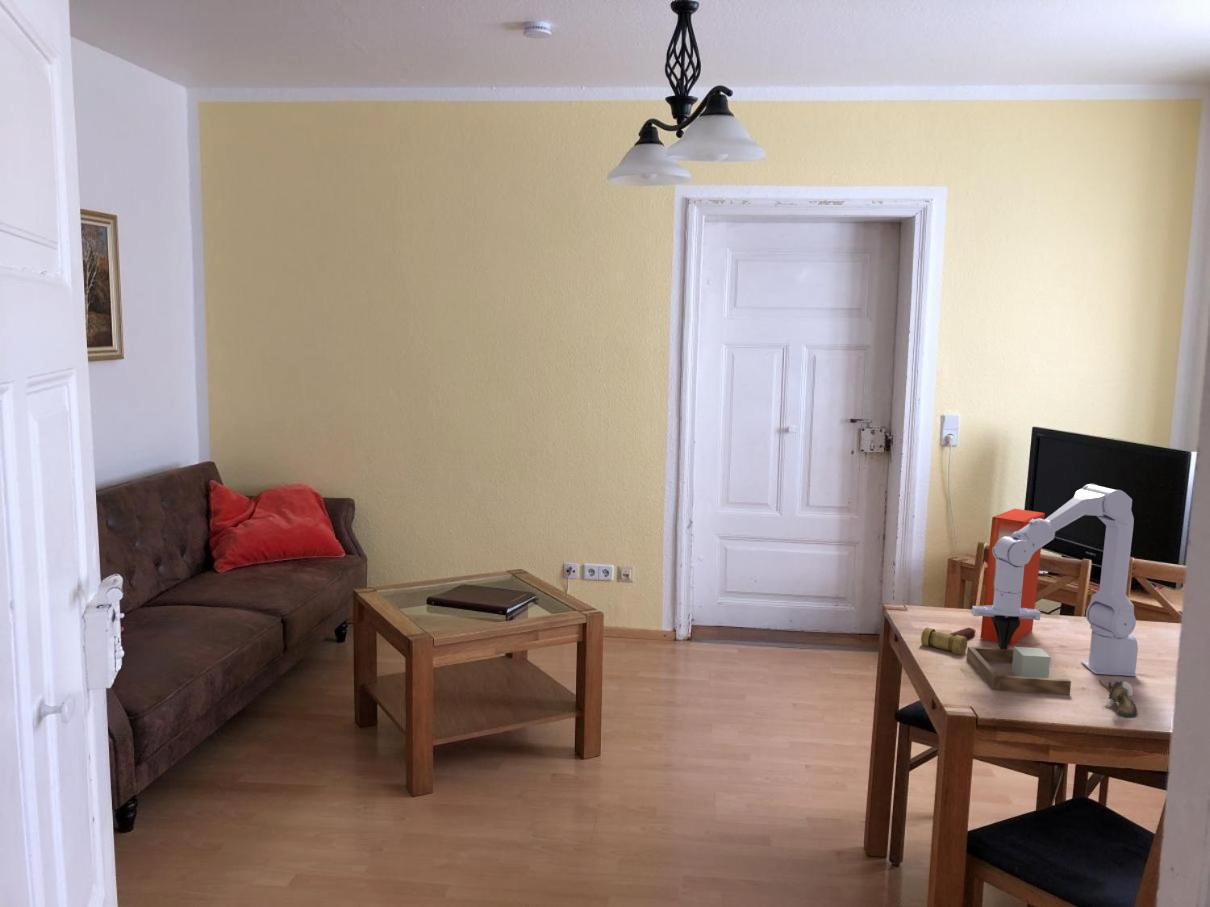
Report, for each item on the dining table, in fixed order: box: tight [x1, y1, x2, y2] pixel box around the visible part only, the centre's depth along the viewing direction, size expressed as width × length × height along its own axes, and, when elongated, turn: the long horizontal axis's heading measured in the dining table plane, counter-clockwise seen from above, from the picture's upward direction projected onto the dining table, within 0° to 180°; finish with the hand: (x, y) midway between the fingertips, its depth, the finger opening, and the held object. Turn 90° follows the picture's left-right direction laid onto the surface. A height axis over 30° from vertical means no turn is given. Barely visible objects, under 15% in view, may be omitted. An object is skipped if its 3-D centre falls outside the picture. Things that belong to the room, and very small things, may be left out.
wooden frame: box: [966, 645, 1072, 695], centre depth 220 cm, size 16×20×3 cm
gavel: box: [920, 627, 976, 655], centre depth 244 cm, size 21×5×10 cm
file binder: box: [979, 508, 1046, 647], centre depth 248 cm, size 8×17×32 cm, turn 140°
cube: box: [1011, 646, 1051, 678], centre depth 220 cm, size 6×6×6 cm
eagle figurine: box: [1097, 678, 1138, 719], centre depth 202 cm, size 8×7×9 cm
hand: (1002, 648), depth 220 cm, fingers closed
